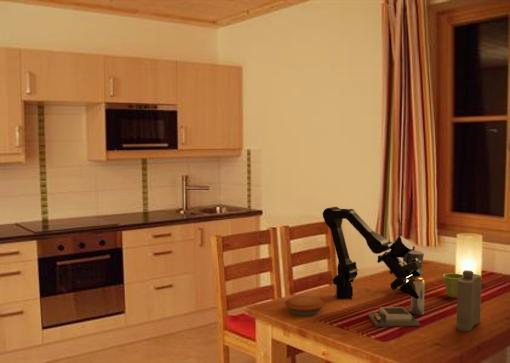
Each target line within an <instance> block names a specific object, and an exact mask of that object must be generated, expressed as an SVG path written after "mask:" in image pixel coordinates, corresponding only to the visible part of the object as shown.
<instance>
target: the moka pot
mask: <svg viewBox="0 0 510 363" xmlns="http://www.w3.org/2000/svg"><path fill="white" fill-rule="evenodd" d="M412 246H413V249H412V250H411V251H410V252H409V253H408V254H407V255H405V256H404V257H403V258H402V262H406V263H407V264H408V263H411V262H412V259H415V258H417V259H418V260H420V261H421V262H422V263H421V267H422V268H419V269H420V270H421V271H422V269H423V262H424V256H425V254H424V252H423V251H421V250H420V251H419V250H416V249H415V248H416V247H415V246H414V245H412Z"/></svg>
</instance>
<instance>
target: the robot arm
mask: <svg viewBox="0 0 510 363" xmlns="http://www.w3.org/2000/svg"><path fill="white" fill-rule="evenodd" d="M322 218H323V220H324V222H325V224H326V226H327V227H328V228H329V229H330V233H331V237H332V242H333V245H334V249H335V253H336V257H337V260H338V262H337V267H336V269H337V271H336V272H337V274H336V275H335V277H334V278H332V282H333V285H334V286H335V293H334V296H335V298H336V299H337V300H353V296H354V292H353V291H354V290H353V288H354V287H353V286H352V283H354V280H355V279H356V278H357V276H358V271H359V269H358V268H357V262H356V261H352V260H351V258H350V256H349V255H350V254H349V252H348V247H347V244H346V239H345V236H344V232H343V227H342V225H343V219H345V220H347V221H348V222H349V223H350V224H351V225H352V226H353V228H354V229H355V230H356V231H357V233H359V234H360V235H361V237H363V239H364V240H365V241H366V244H367V247H368V248H369V250H370V251H371V252H372V253H373V254H376V255H378V256H377V263H378V264H379V263H382V262H383V263H384V265H386V267H387V268H388V269H389V274H390V275H394V277H395V279H394V280H393V281H392V282H391V283H390V288H391V290H392V291H394V292H395V291H396V290H398V291H399V292H402V293H404V294H406V295H409V296H410V297H411V296H412V297H414V298H416V299H418V298H419V296H418V294H417V293H416V291H415V290H414V288H413V287H412V285H411V279H413V277H422V274H423V273H424V272H423V271H422V269H423V266H422V267H421V263H422V262H421V261H420V260H418V259H417V258H415V259H412V262H411V263H408V264H407V263H406V262H403V260H401V259H403V257H404V256H405V255H407V254H408V253H409V252H410V251H411V250H412V249H413V246H414V245H413V244H412V243H411V241H410V240H408V239H407V238H405V237H403V236H399V237H397V239H396V240H394V242H392V241H389V240H388V239H387V238H385V237H384V236H382V235H381V234H379V233H377V232H376V231H374V230H373V229H372V228H371V227H370V226H369V225H368V224H367V222H365V221H364V219H362V217H361V216H360V215H359V214H358V213H357V212H356V210H355V209H353V208H340V207H338V206H331V207H326V208H324V210H323V212H322ZM382 253H383V254H382ZM379 254H380V255H379ZM422 264H423V263H422ZM419 268H422V269H421V270H420V269H419ZM425 294H426V293H425V292H424V296H425Z"/></svg>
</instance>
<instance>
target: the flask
mask: <svg viewBox="0 0 510 363" xmlns="http://www.w3.org/2000/svg"><path fill="white" fill-rule="evenodd" d="M462 275H463V276H462V277H460V278H459V279H458V282H457V297H456V329H457V331H460V332H465V333H466V332H471V331H472V329H473V328H474V326H475V325H478V324H480V323H481V311H482V309H481V307H482V302H481V300H482V275H480V274H476V273H474V272H473V270H464V271H463V272H462Z"/></svg>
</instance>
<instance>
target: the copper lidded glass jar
mask: <svg viewBox="0 0 510 363" xmlns="http://www.w3.org/2000/svg"><path fill="white" fill-rule="evenodd" d="M425 282H426V281H425V279H424V277H422V276H421V277H413V279H411V285H412V287H413V288H414V290H415V291H416V293H417V294H418V296H419V298H418V299H416V298H414V297H412V296H410V314H411V315H418V316H419V315H424V314H425V295H424V293H425Z"/></svg>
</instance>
